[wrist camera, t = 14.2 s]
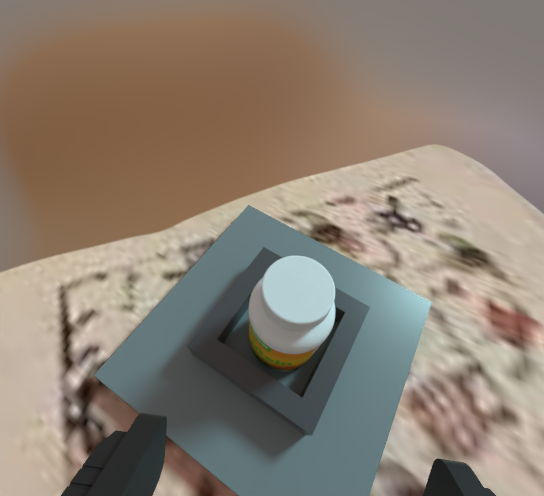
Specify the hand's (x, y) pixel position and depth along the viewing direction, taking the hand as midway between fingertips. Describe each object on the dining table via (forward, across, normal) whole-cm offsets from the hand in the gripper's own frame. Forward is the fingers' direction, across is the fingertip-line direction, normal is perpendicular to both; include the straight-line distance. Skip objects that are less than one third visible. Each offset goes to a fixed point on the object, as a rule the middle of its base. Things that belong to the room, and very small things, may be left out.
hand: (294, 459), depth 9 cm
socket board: (+15, 0, +5) cm, 16 cm away
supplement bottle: (+14, 0, +4) cm, 15 cm away
